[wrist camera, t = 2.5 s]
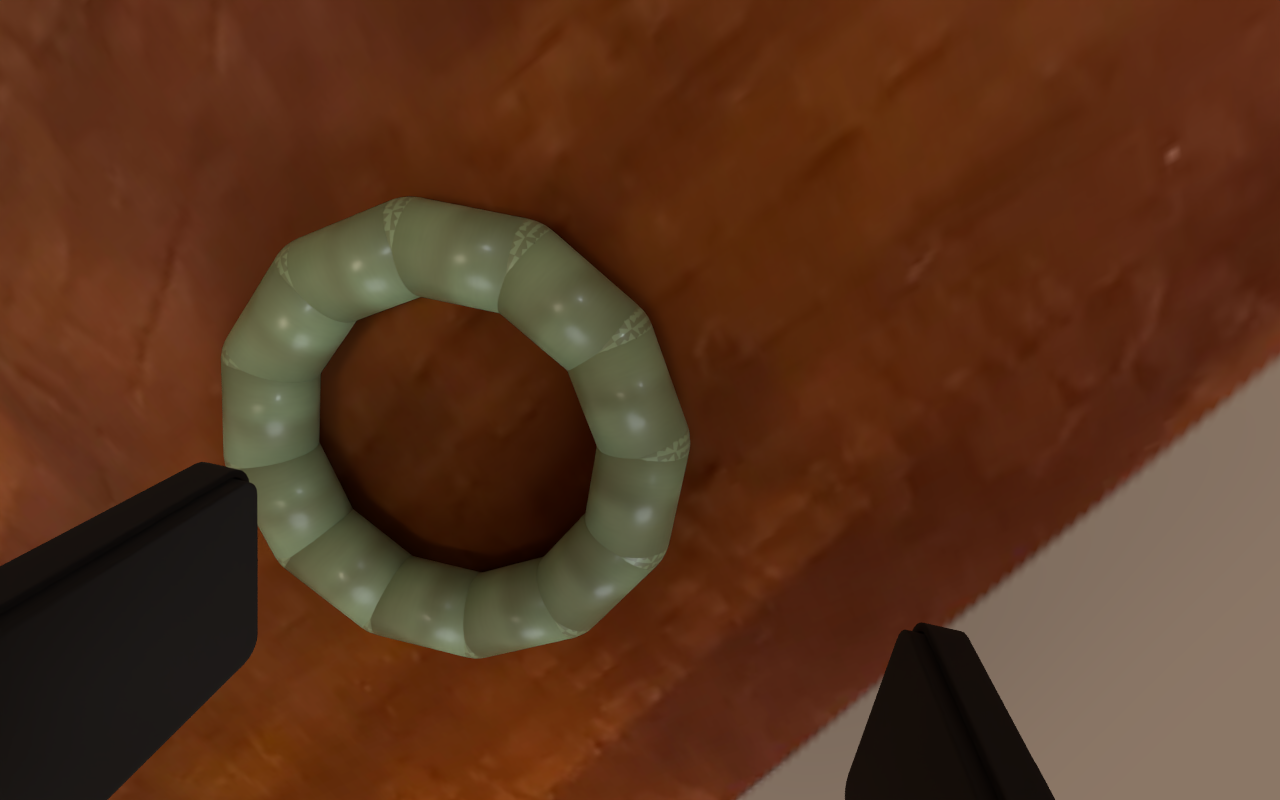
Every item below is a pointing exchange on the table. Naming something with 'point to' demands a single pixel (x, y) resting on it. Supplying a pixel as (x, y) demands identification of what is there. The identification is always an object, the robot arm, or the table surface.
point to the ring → (548, 315)
